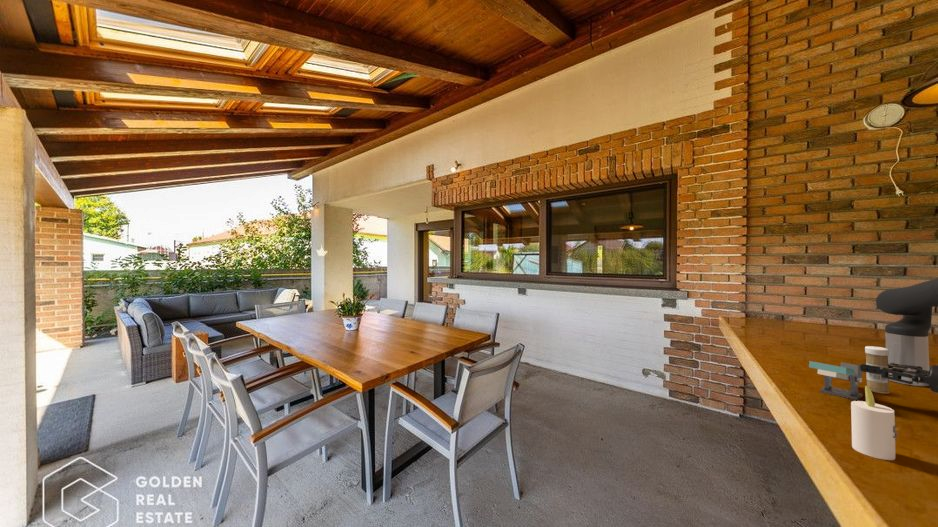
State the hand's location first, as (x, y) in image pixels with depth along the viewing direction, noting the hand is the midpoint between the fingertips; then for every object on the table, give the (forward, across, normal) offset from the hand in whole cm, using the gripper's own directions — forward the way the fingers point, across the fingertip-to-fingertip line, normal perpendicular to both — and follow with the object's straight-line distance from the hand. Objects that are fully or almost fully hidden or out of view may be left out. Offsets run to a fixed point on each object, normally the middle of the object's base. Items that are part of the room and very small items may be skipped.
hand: (863, 366), depth 102 cm
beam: (+5, 0, +6) cm, 8 cm away
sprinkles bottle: (-3, 0, +7) cm, 8 cm away
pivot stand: (+5, -1, +11) cm, 12 cm away
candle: (-9, +40, +10) cm, 43 cm away
